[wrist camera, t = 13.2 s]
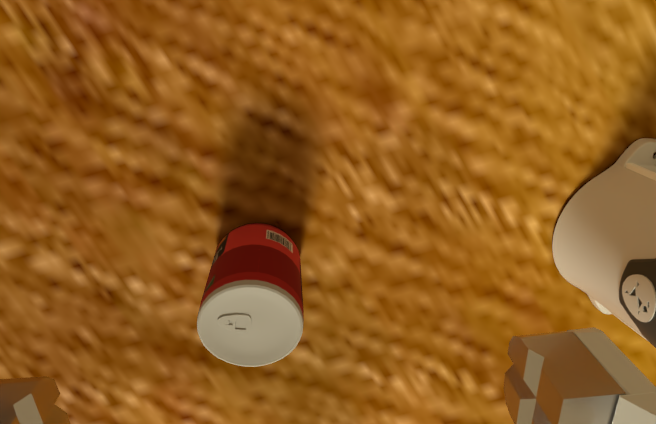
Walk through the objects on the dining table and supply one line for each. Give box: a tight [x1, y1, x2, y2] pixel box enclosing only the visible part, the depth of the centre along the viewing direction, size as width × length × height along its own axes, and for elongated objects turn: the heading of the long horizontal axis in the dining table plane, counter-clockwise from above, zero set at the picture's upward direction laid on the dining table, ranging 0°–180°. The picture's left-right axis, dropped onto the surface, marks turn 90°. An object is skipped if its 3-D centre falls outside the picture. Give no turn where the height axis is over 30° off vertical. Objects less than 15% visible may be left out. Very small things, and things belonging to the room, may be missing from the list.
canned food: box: [197, 223, 303, 367], centre depth 41 cm, size 8×8×11 cm
